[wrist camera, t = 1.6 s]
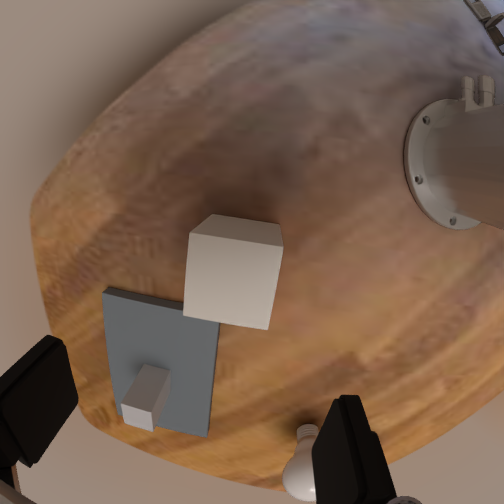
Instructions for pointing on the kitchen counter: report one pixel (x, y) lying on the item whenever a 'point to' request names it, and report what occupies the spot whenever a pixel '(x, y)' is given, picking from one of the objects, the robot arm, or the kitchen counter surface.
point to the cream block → (233, 271)
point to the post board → (160, 362)
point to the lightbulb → (301, 466)
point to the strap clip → (484, 15)
